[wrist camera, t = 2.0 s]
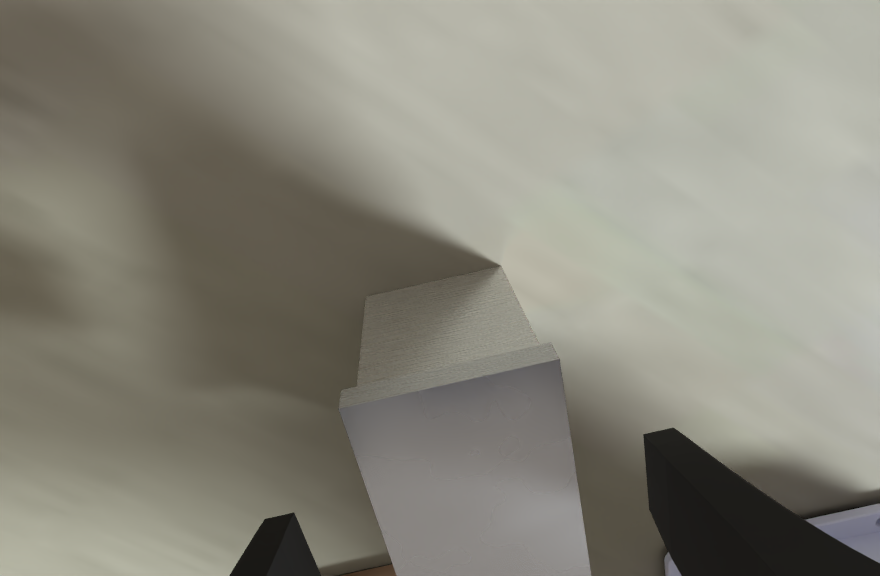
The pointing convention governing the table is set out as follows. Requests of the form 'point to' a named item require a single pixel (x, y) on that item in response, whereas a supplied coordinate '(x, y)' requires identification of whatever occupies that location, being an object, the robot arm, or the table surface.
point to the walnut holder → (375, 572)
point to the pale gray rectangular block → (465, 434)
